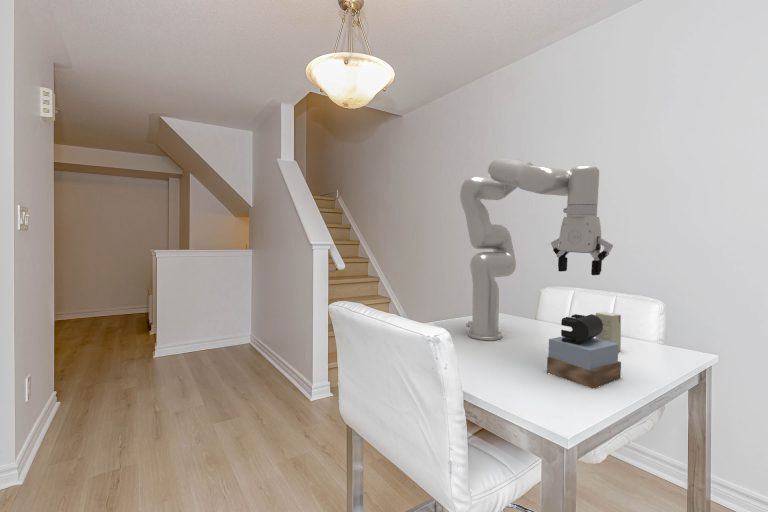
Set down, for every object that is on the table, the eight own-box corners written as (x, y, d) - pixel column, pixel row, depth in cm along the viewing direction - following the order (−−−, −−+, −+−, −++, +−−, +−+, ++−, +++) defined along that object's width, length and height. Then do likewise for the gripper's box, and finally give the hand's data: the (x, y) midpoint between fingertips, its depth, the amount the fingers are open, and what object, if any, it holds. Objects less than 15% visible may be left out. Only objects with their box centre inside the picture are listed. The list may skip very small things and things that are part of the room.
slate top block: (548, 356, 107) (548, 339, 106) (576, 350, 112) (576, 333, 112) (589, 370, 96) (590, 350, 96) (617, 362, 102) (618, 344, 102)
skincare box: (621, 351, 126) (622, 314, 125) (611, 353, 124) (612, 315, 124) (603, 346, 132) (604, 311, 131) (594, 348, 130) (595, 312, 130)
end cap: (587, 347, 98) (588, 321, 98) (560, 341, 104) (560, 316, 103) (602, 340, 105) (603, 315, 105) (576, 335, 110) (576, 311, 110)
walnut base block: (546, 375, 106) (547, 357, 106) (573, 366, 114) (574, 349, 113) (594, 391, 96) (594, 371, 95) (620, 380, 103) (621, 361, 102)
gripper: (545, 212, 113) (543, 270, 114) (606, 210, 98) (602, 277, 99) (561, 213, 117) (558, 269, 118) (621, 211, 102) (617, 275, 103)
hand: (578, 273), depth 109 cm, fingers open, 9 cm apart
